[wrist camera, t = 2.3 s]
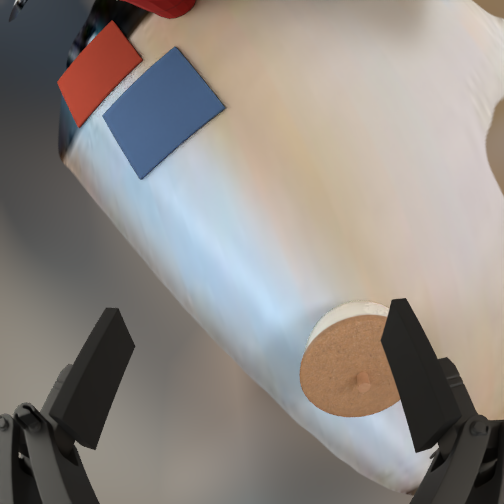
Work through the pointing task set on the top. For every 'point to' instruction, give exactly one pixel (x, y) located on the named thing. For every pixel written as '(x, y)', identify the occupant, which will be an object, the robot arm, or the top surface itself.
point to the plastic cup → (165, 6)
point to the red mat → (97, 72)
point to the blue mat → (161, 111)
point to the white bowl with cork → (349, 362)
